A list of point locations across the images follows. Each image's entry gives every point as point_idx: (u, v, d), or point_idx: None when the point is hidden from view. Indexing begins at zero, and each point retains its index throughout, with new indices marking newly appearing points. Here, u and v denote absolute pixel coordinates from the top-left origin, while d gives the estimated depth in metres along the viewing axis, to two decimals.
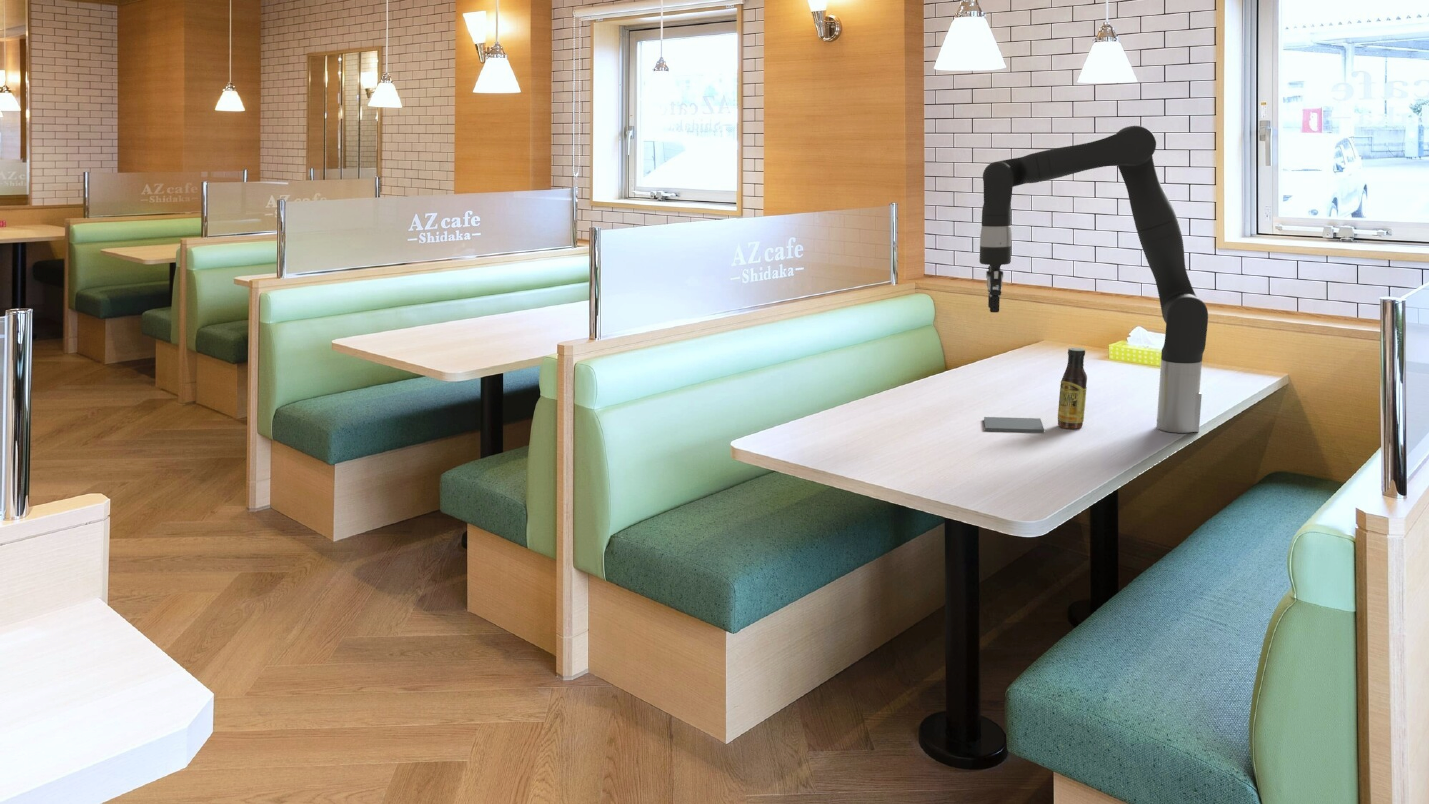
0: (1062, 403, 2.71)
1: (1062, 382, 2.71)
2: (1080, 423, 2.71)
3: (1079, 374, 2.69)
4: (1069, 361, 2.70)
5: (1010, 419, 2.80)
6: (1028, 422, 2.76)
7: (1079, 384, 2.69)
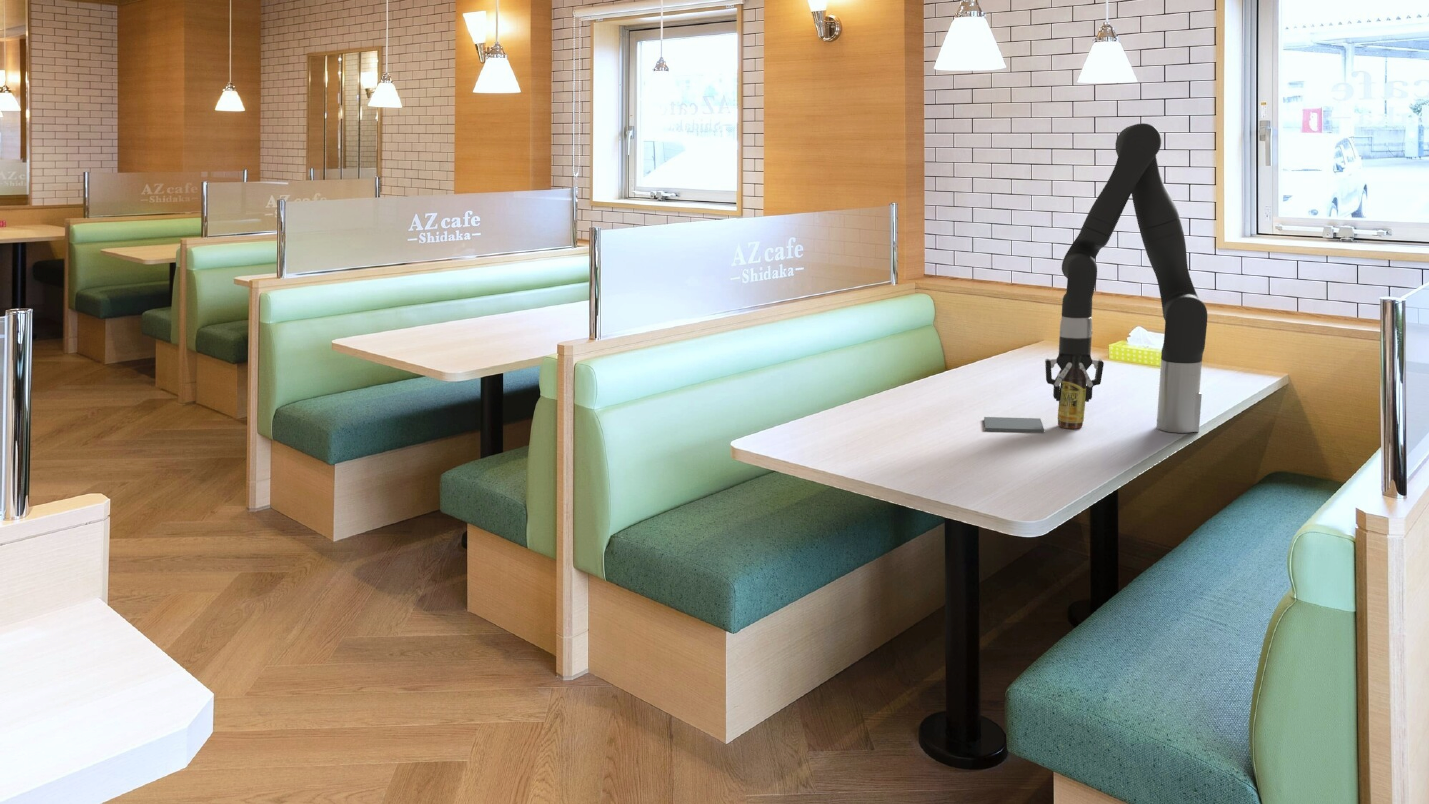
0: (1062, 403, 2.71)
1: (1062, 382, 2.71)
2: (1080, 423, 2.71)
3: (1079, 374, 2.69)
4: None
5: (1010, 419, 2.80)
6: (1028, 422, 2.76)
7: (1079, 384, 2.69)
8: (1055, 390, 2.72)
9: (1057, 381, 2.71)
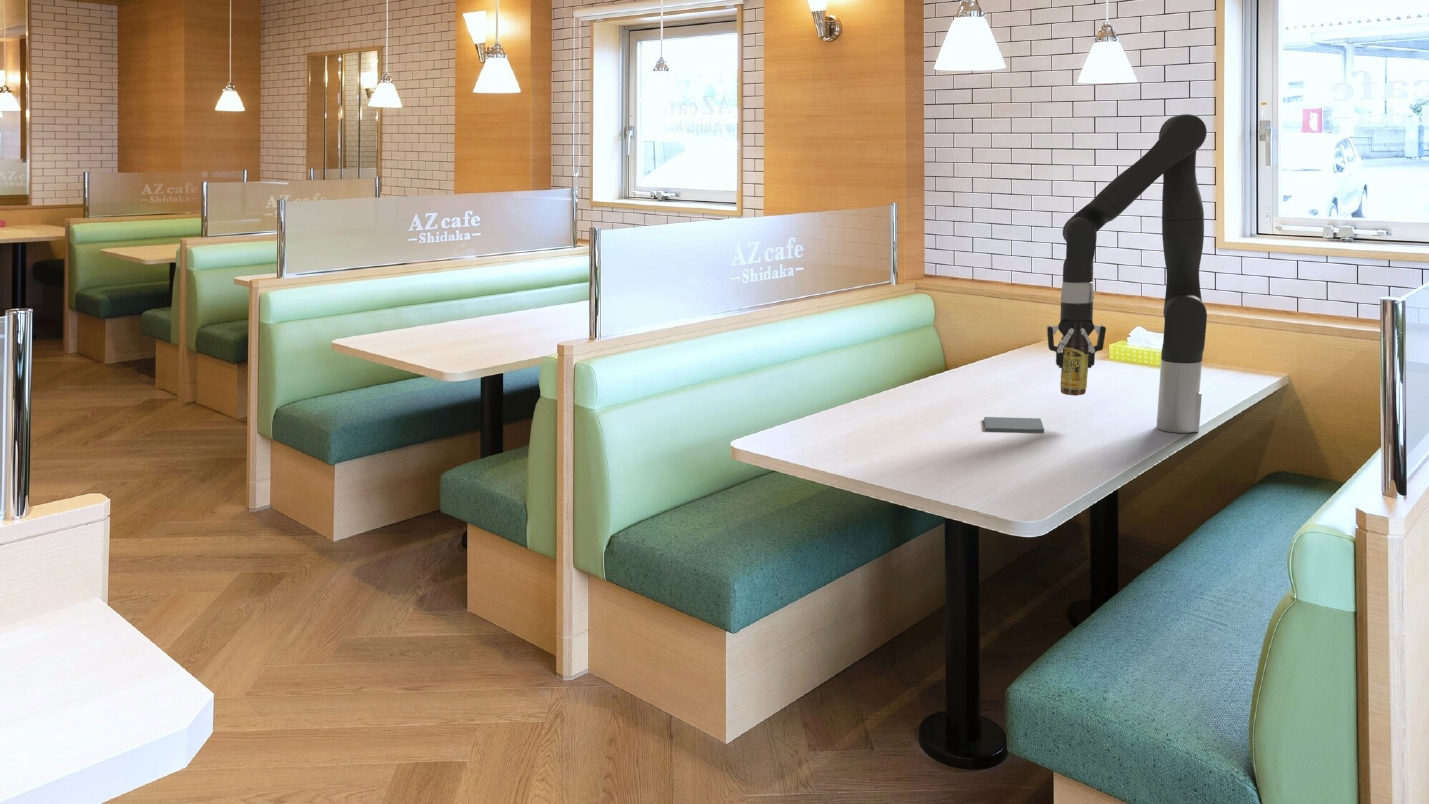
0: (1065, 370, 2.69)
1: (1064, 348, 2.69)
2: (1083, 389, 2.70)
3: (1081, 339, 2.67)
4: (1071, 327, 2.68)
5: (1010, 419, 2.80)
6: (1028, 422, 2.76)
7: (1081, 350, 2.67)
8: (1058, 357, 2.70)
9: (1059, 348, 2.69)
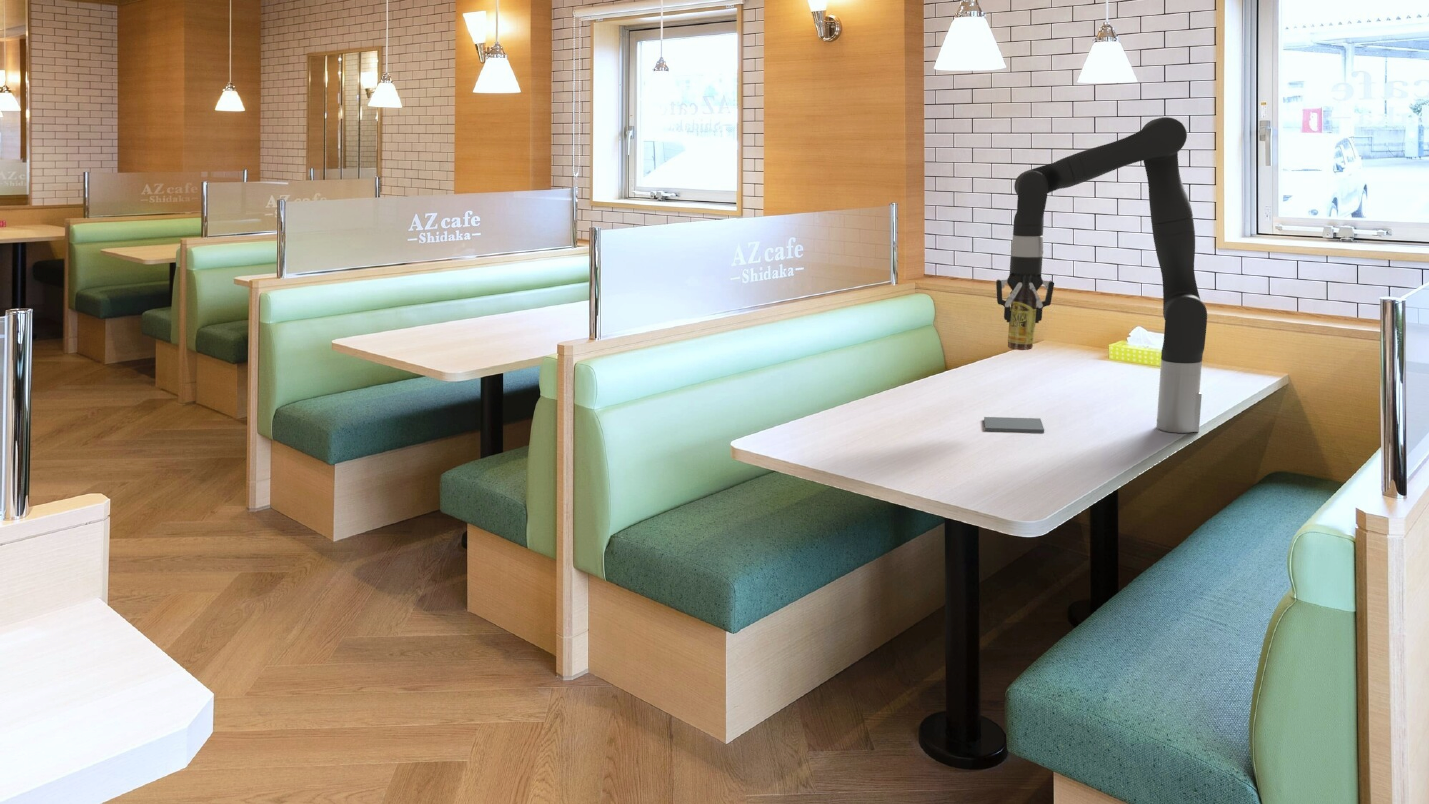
0: (1012, 324, 2.69)
1: (1012, 302, 2.69)
2: (1030, 344, 2.69)
3: (1030, 294, 2.66)
4: None
5: (1010, 419, 2.80)
6: (1028, 422, 2.76)
7: (1029, 304, 2.66)
8: (1005, 311, 2.70)
9: (1008, 302, 2.69)
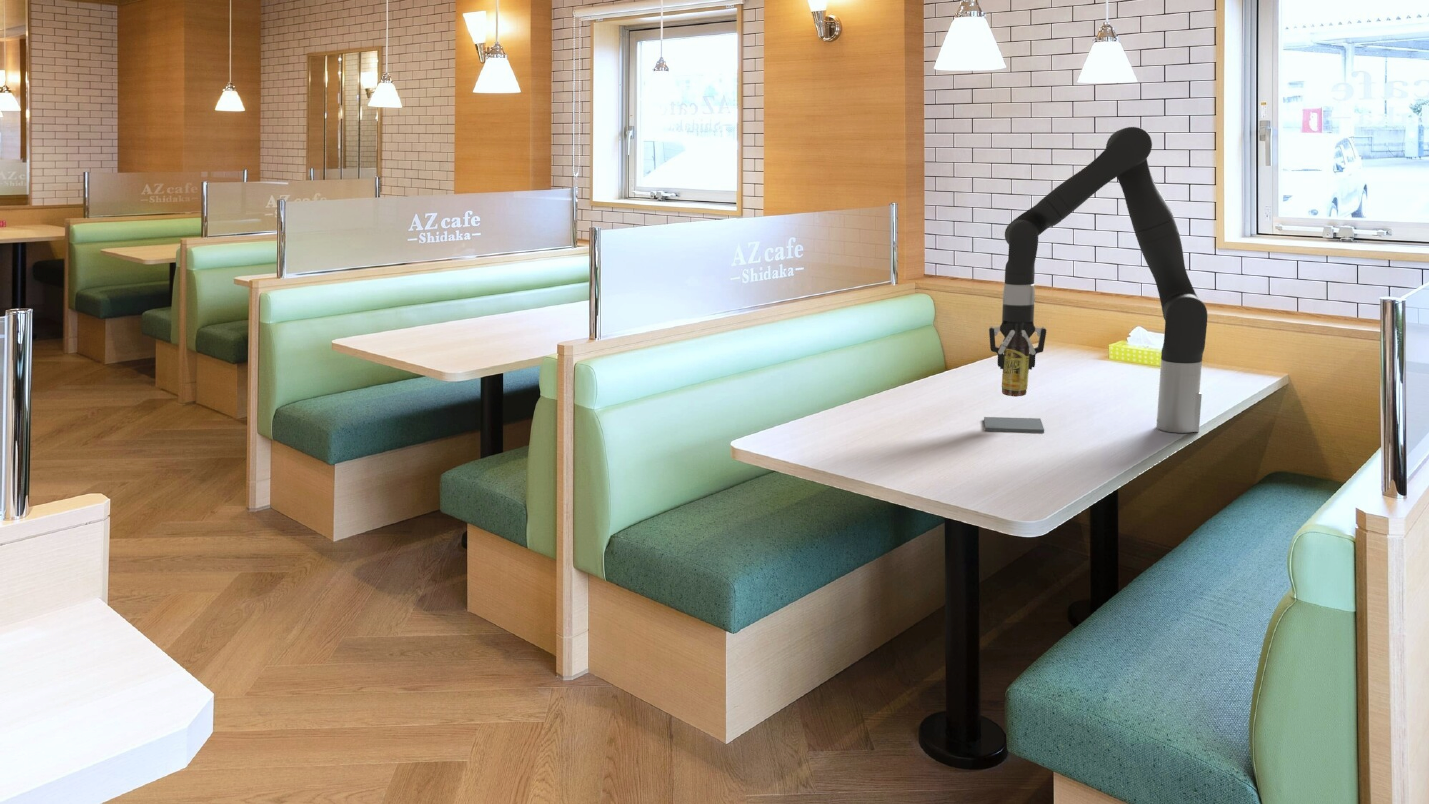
0: (1005, 371, 2.72)
1: (1005, 350, 2.71)
2: (1023, 391, 2.72)
3: (1022, 341, 2.69)
4: (1012, 328, 2.70)
5: (1010, 419, 2.80)
6: (1028, 422, 2.76)
7: (1021, 351, 2.69)
8: (999, 358, 2.72)
9: (1001, 349, 2.71)
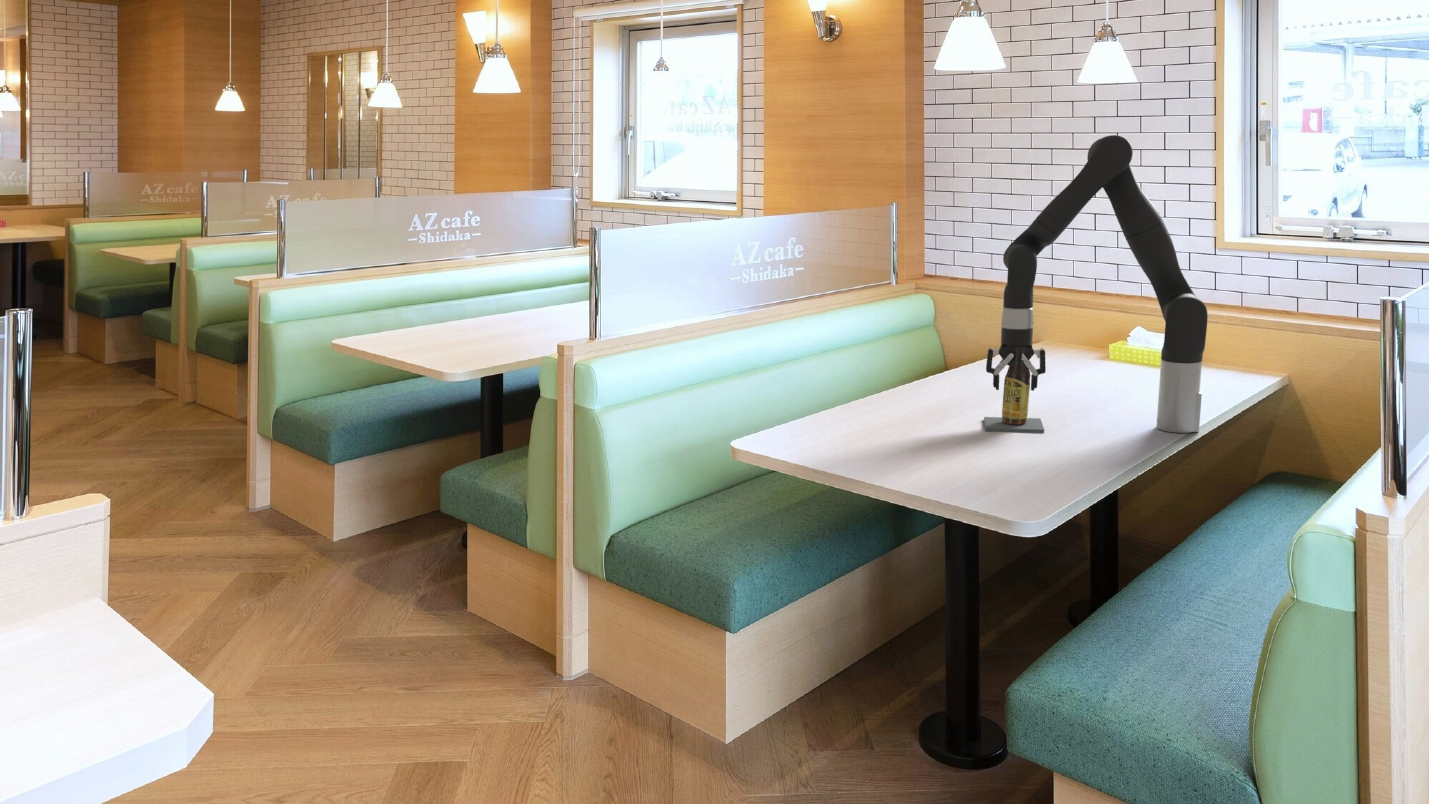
0: (1006, 399, 2.73)
1: (1006, 378, 2.73)
2: (1024, 419, 2.73)
3: (1023, 370, 2.70)
4: None
5: None
6: (1028, 422, 2.76)
7: (1022, 380, 2.70)
8: (994, 379, 2.74)
9: (996, 370, 2.73)
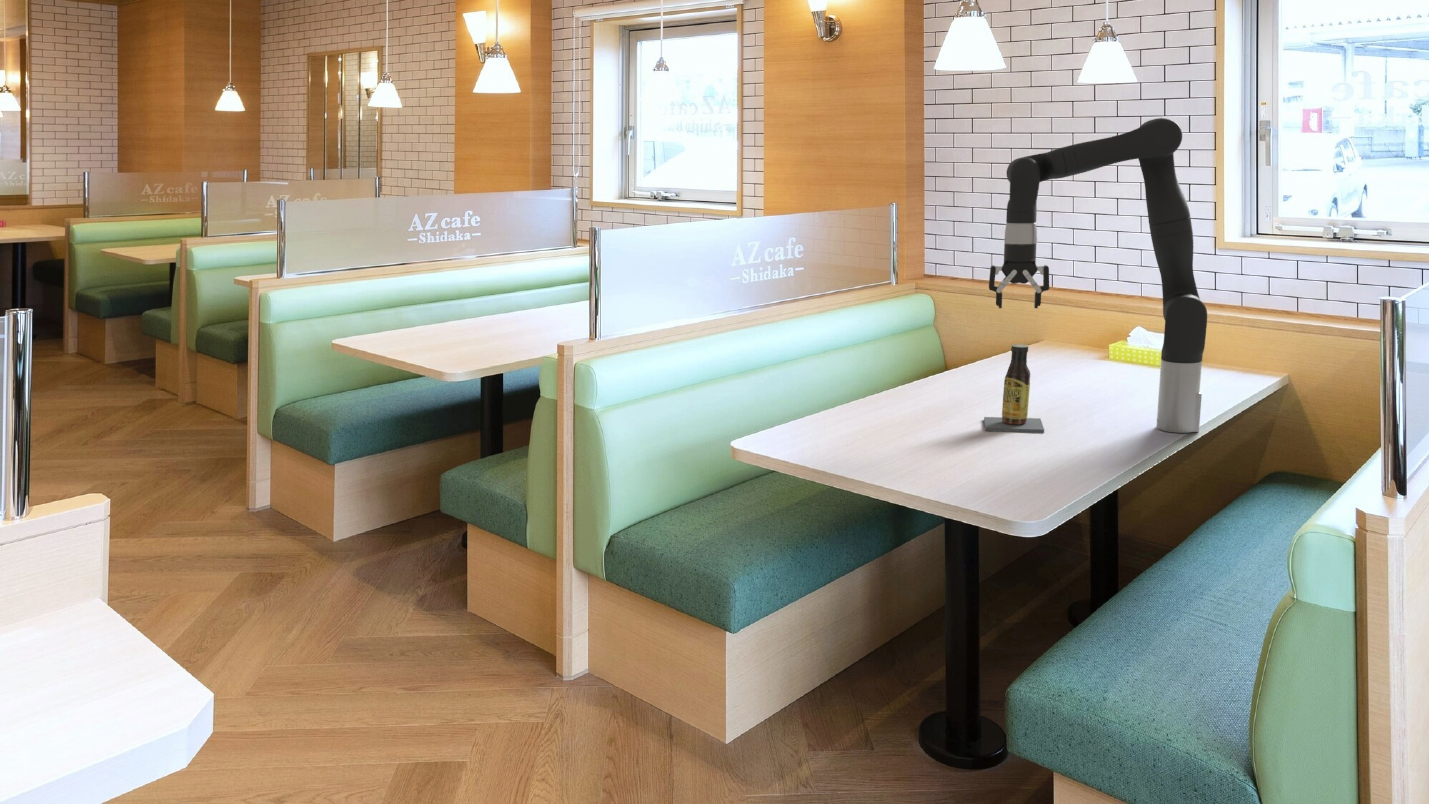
0: (1006, 399, 2.73)
1: (1006, 378, 2.73)
2: (1024, 419, 2.73)
3: (1023, 370, 2.70)
4: (1012, 357, 2.71)
5: None
6: (1028, 422, 2.76)
7: (1022, 380, 2.70)
8: (997, 297, 2.69)
9: (999, 287, 2.68)
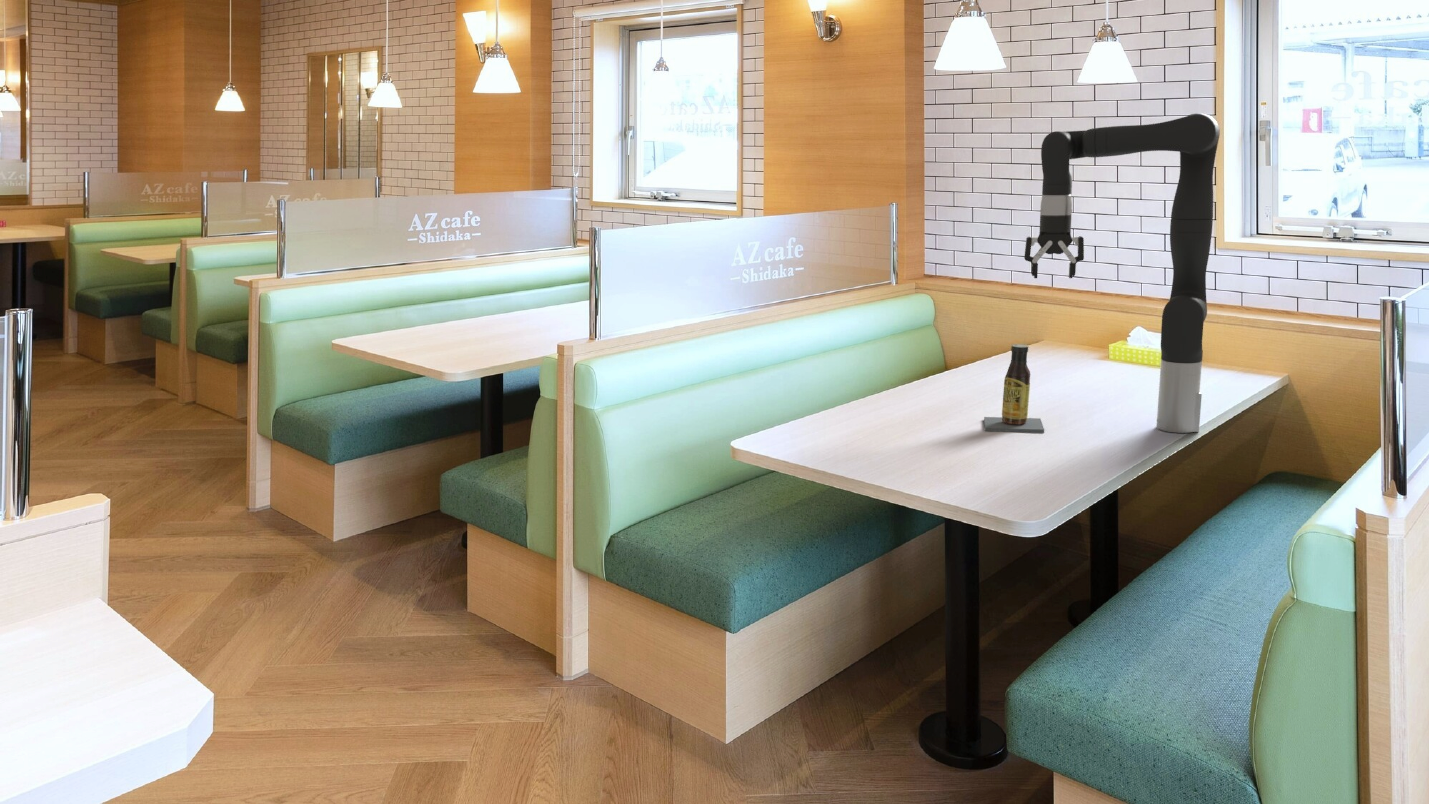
0: (1006, 399, 2.73)
1: (1006, 378, 2.73)
2: (1024, 419, 2.73)
3: (1023, 370, 2.70)
4: (1012, 357, 2.71)
5: None
6: (1028, 422, 2.76)
7: (1022, 380, 2.70)
8: (1033, 267, 2.78)
9: (1035, 258, 2.77)
